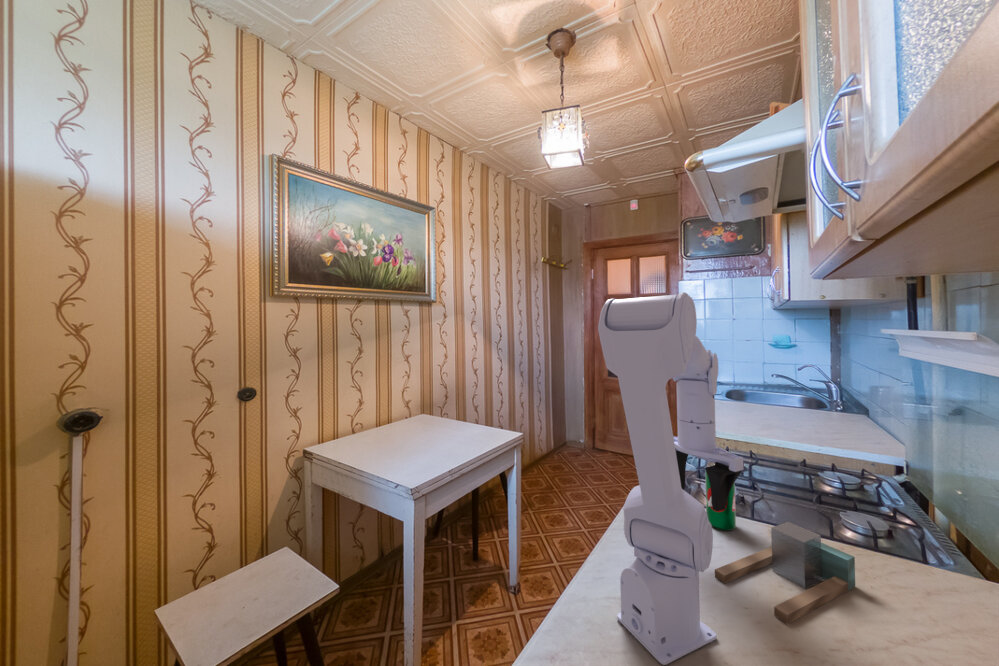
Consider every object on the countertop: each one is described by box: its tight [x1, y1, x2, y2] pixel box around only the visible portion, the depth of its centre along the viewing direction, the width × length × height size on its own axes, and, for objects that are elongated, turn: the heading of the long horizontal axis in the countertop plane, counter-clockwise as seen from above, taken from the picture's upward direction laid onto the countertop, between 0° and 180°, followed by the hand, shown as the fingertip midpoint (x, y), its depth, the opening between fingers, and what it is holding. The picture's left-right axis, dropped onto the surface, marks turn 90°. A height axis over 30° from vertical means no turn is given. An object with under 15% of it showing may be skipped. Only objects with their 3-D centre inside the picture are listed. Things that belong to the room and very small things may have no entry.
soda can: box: [704, 461, 737, 532], centre depth 72 cm, size 5×5×12 cm
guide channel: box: [714, 524, 856, 625], centre depth 55 cm, size 17×10×4 cm, turn 113°
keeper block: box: [770, 521, 823, 590], centre depth 57 cm, size 4×4×7 cm
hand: (697, 499), depth 61 cm, fingers open, 7 cm apart
